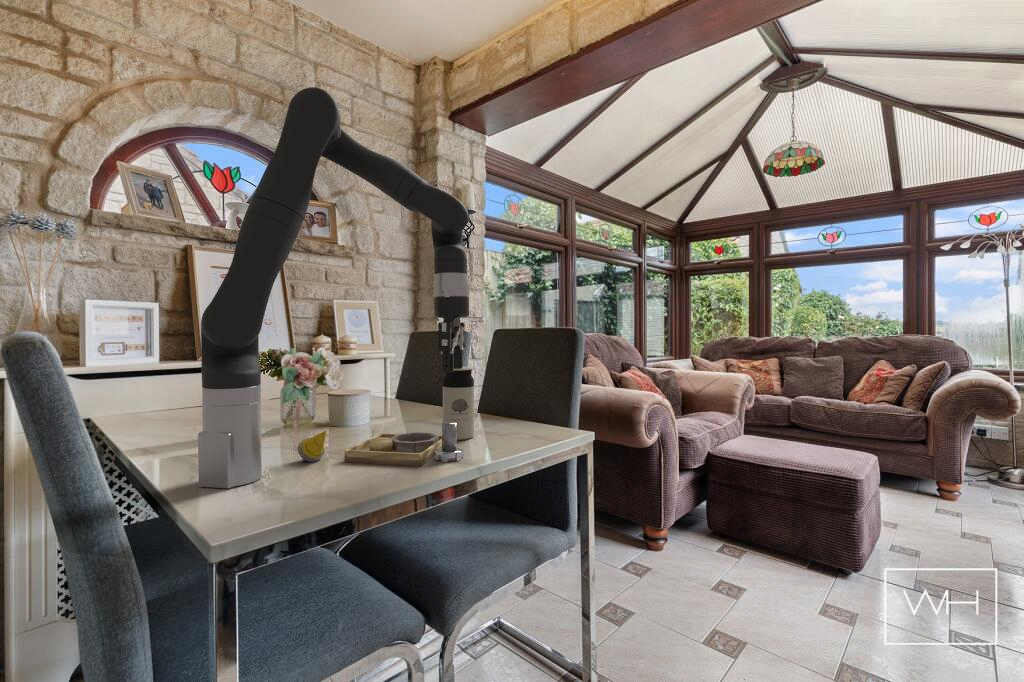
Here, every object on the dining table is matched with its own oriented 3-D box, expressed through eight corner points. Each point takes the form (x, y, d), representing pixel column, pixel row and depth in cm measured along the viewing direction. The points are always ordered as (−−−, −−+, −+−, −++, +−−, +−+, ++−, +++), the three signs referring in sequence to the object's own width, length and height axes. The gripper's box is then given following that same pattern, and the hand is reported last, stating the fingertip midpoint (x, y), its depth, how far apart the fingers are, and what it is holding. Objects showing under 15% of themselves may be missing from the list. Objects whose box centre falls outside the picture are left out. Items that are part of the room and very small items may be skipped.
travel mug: (445, 433, 127) (445, 366, 127) (475, 433, 127) (475, 366, 127) (440, 440, 119) (440, 368, 119) (471, 440, 119) (471, 368, 119)
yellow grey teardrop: (320, 457, 105) (342, 430, 101) (309, 474, 100) (331, 446, 96) (299, 444, 104) (320, 415, 100) (286, 460, 99) (308, 431, 95)
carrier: (422, 466, 97) (422, 448, 97) (344, 462, 100) (344, 444, 100) (448, 446, 113) (448, 431, 113) (381, 443, 116) (381, 428, 116)
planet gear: (458, 462, 99) (458, 426, 99) (431, 461, 100) (431, 425, 100) (466, 455, 105) (466, 420, 105) (441, 453, 106) (440, 419, 106)
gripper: (443, 297, 111) (444, 367, 111) (424, 293, 97) (426, 373, 97) (474, 297, 110) (476, 367, 110) (461, 292, 96) (462, 373, 96)
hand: (453, 370), depth 104 cm, fingers open, 8 cm apart
